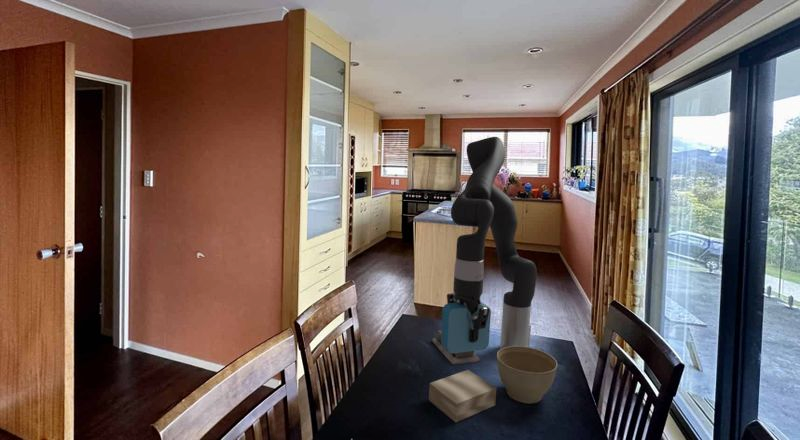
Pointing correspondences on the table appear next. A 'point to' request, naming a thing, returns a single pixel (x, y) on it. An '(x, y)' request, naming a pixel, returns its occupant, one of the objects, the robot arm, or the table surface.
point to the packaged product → (455, 357)
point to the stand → (462, 395)
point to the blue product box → (461, 330)
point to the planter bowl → (526, 372)
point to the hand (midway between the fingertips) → (465, 337)
